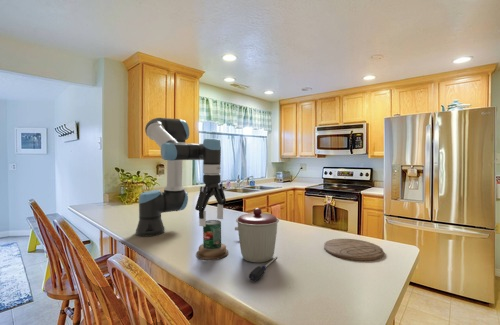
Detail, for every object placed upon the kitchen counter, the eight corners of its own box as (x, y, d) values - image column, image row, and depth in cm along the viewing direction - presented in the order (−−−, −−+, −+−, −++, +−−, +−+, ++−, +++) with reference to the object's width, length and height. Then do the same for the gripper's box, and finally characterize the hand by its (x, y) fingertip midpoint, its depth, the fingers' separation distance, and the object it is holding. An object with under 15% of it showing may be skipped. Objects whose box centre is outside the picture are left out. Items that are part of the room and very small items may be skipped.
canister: (281, 252, 119) (281, 205, 118) (276, 268, 101) (276, 213, 100) (241, 249, 122) (241, 203, 122) (230, 265, 105) (230, 211, 104)
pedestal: (189, 256, 114) (189, 249, 114) (208, 246, 126) (208, 240, 126) (217, 262, 108) (217, 254, 107) (234, 251, 120) (234, 244, 120)
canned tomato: (224, 245, 119) (224, 220, 119) (216, 250, 112) (216, 224, 112) (208, 243, 122) (208, 219, 122) (199, 248, 114) (199, 223, 114)
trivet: (313, 246, 127) (313, 242, 127) (353, 239, 137) (353, 236, 137) (350, 266, 104) (350, 261, 104) (396, 256, 113) (396, 252, 113)
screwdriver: (272, 257, 113) (272, 248, 113) (281, 258, 112) (281, 249, 112) (247, 283, 90) (247, 272, 89) (257, 285, 88) (257, 274, 88)
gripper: (201, 176, 103) (201, 230, 104) (233, 172, 126) (233, 217, 126) (186, 175, 107) (186, 228, 107) (220, 171, 129) (219, 215, 130)
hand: (211, 222), depth 117 cm, fingers open, 13 cm apart
